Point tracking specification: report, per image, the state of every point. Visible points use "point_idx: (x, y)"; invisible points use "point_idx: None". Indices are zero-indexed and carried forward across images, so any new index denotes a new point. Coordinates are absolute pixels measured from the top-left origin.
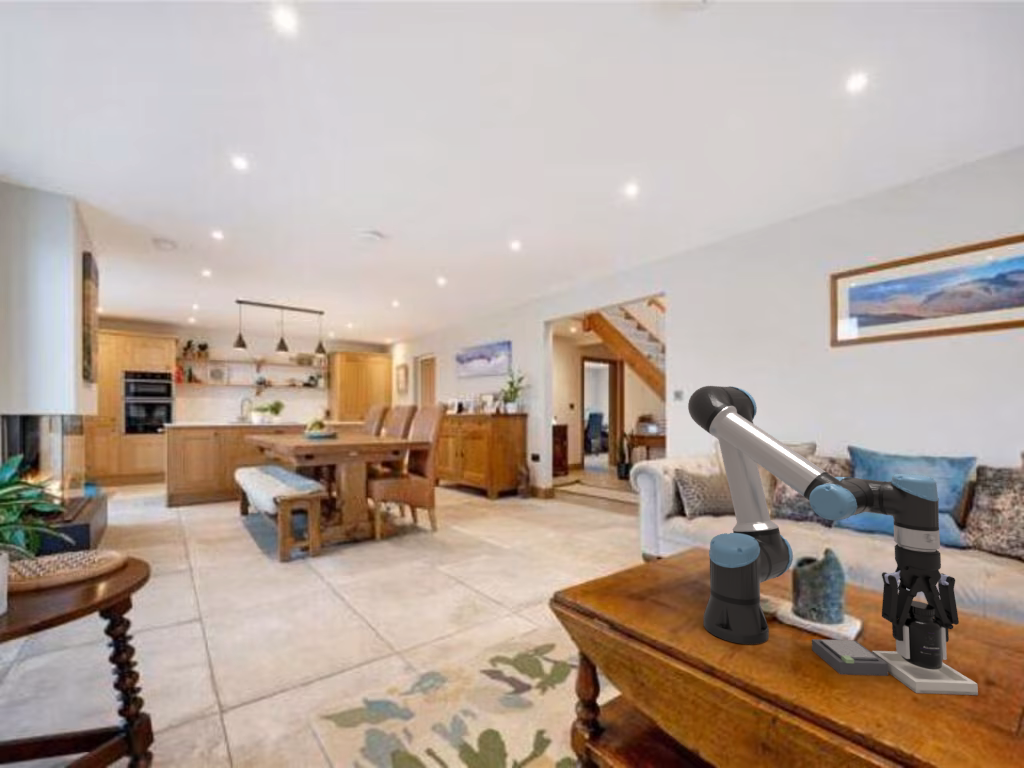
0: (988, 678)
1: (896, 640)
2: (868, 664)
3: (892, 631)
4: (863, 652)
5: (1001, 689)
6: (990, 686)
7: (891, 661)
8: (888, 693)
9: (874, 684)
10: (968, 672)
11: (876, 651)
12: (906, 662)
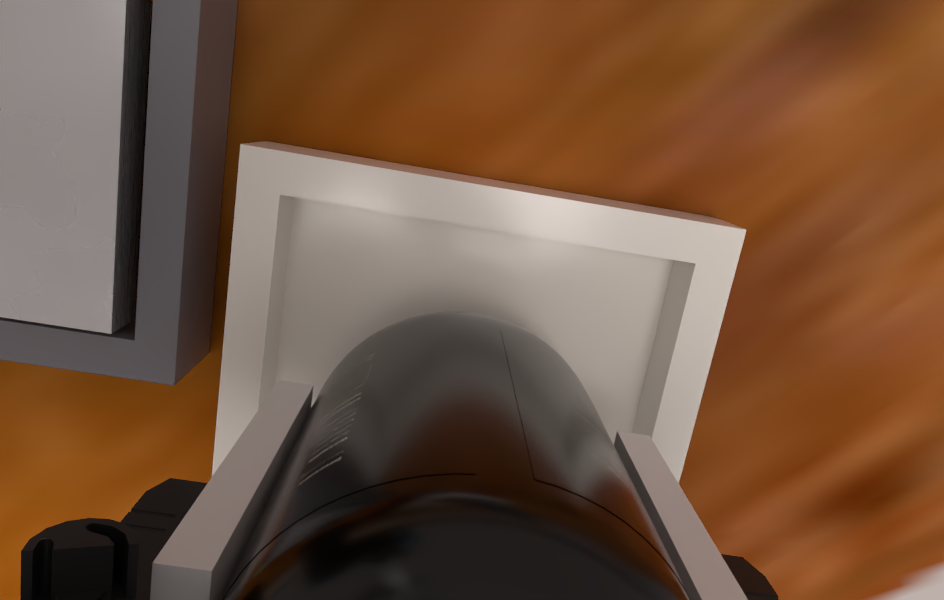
0: (924, 452)
1: (246, 435)
2: (11, 358)
3: (124, 518)
4: (52, 236)
5: (847, 562)
6: (817, 529)
7: (266, 331)
8: (35, 528)
9: (16, 433)
10: (876, 374)
11: (274, 162)
12: (497, 243)
